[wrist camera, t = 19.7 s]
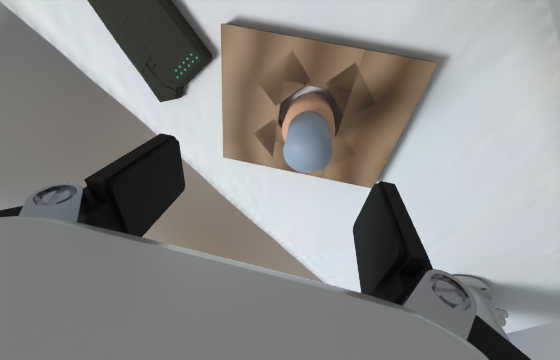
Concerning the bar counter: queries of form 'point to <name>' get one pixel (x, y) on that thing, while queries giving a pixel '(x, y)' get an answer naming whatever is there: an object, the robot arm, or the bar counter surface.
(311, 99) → the tan rounded lump
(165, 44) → the firearm
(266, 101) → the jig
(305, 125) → the blue-grey rounded cylinder
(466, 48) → the bar counter surface
